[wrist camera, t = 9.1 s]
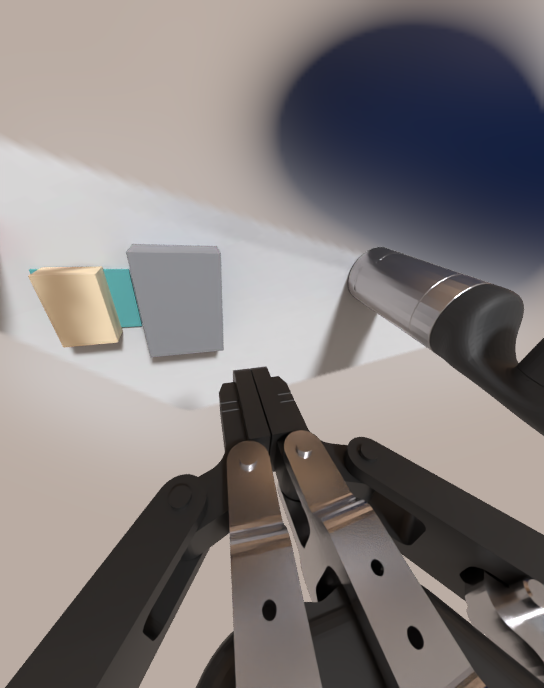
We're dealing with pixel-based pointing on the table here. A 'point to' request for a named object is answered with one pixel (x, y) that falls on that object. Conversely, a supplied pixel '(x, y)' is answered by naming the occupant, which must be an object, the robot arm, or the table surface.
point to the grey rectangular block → (178, 297)
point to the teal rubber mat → (121, 296)
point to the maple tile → (78, 304)
